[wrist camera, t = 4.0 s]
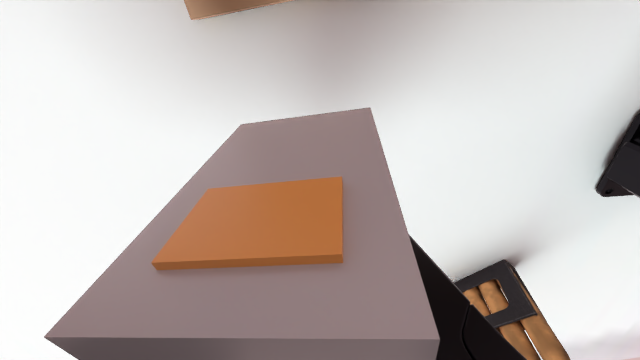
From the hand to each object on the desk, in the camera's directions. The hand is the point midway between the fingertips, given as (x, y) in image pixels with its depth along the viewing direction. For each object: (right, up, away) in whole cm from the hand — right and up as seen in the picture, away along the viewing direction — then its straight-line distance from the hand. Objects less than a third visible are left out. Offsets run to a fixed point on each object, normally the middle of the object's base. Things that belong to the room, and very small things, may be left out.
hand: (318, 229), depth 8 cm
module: (0, +1, +1) cm, 1 cm away
